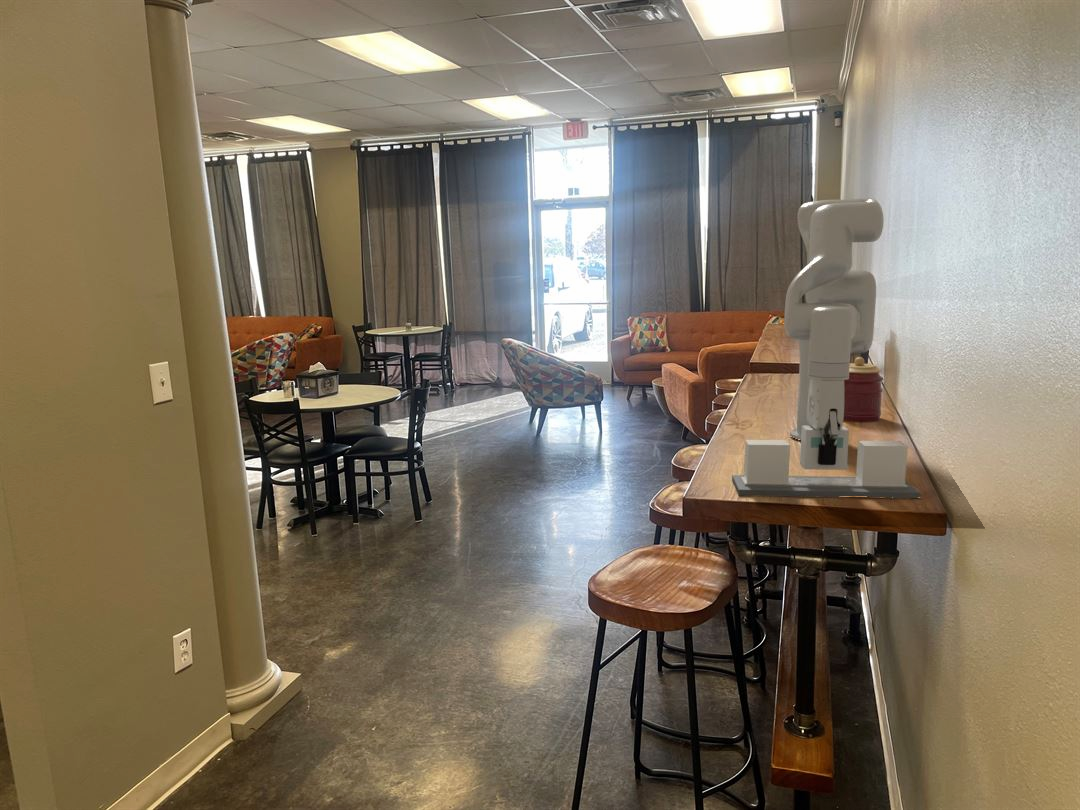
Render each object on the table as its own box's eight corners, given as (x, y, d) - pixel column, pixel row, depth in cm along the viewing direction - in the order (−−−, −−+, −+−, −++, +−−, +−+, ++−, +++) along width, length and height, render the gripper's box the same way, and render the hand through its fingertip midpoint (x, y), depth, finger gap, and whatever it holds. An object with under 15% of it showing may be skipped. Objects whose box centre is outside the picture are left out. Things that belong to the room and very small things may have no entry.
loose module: (800, 463, 148) (801, 425, 146) (841, 464, 147) (843, 425, 145) (804, 469, 144) (806, 430, 142) (846, 470, 143) (849, 430, 141)
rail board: (732, 480, 153) (732, 475, 153) (902, 483, 149) (902, 477, 149) (738, 495, 144) (738, 489, 143) (920, 498, 139) (921, 492, 139)
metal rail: (741, 478, 150) (741, 476, 150) (899, 481, 146) (899, 479, 146) (744, 485, 146) (744, 484, 145) (908, 488, 142) (908, 486, 141)
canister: (875, 414, 214) (880, 354, 211) (885, 423, 202) (889, 360, 198) (828, 412, 217) (832, 354, 214) (835, 422, 205) (838, 359, 202)
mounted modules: (744, 477, 150) (745, 439, 148) (897, 479, 146) (900, 441, 144) (747, 483, 146) (748, 444, 144) (904, 485, 142) (907, 446, 140)
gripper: (798, 364, 150) (794, 450, 154) (819, 376, 134) (814, 472, 137) (836, 364, 149) (831, 451, 153) (861, 376, 133) (855, 473, 136)
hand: (823, 460), depth 145 cm, fingers closed on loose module, 4 cm apart
